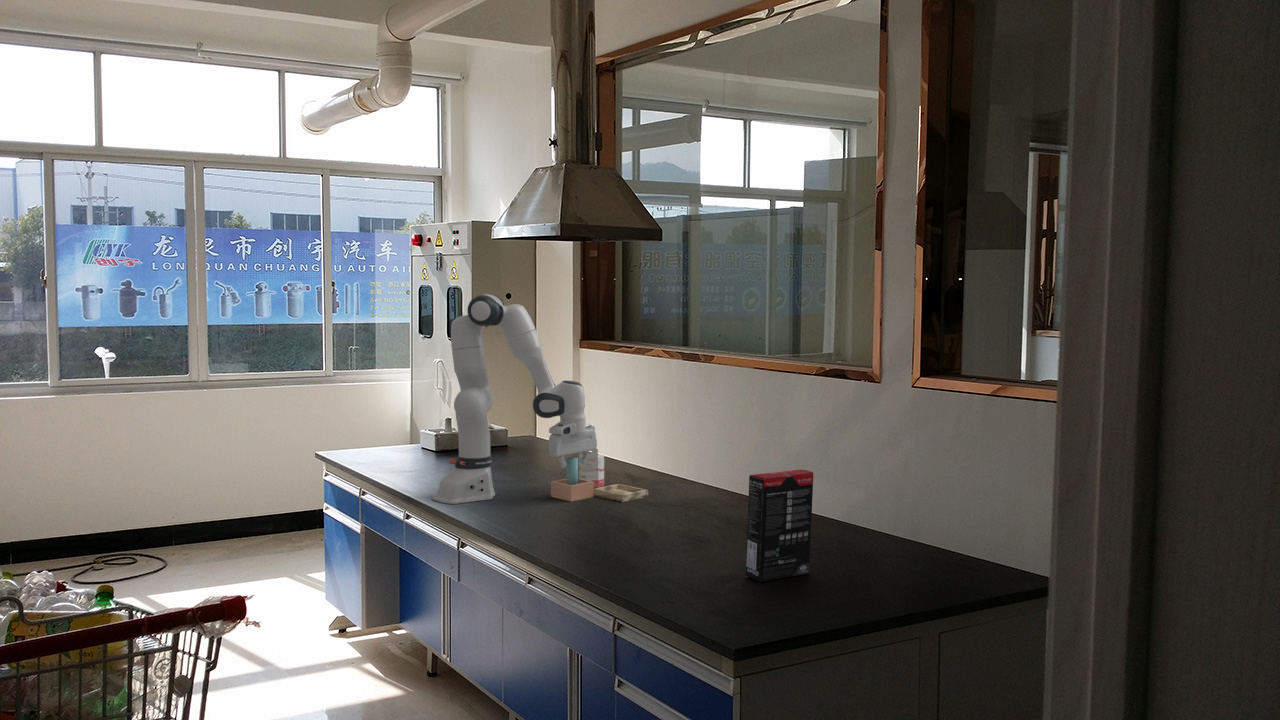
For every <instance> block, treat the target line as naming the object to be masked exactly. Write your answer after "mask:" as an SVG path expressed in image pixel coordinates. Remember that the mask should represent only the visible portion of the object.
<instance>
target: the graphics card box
mask: <svg viewBox="0 0 1280 720" xmlns="http://www.w3.org/2000/svg"><path fill="white" fill-rule="evenodd" d="M748 477H749V479H748V503H747V508H748V509H747V526H746V527H747V528H746V529H747V530H746V531H747V532H746V536H747V537H746V552H745V553H746V556H745V559H746V560H745V576H746V577H748V578H751V579H752V580H755V581H757V582H759V583H762V582H767V581H773V580H779V579H786V578H792V577H795V576H796V577H797V576H803V575H807V574H809V573H810V566H811V565H810V562H811V560H810V559H811V539H812V537H811V535H812V517H813V514H812V513H813V494H814V492H813V489H814V471H811V470H807V469H793V470H784V471H777V472H774V471H773V472H766V473H755V474H749V475H748Z"/></svg>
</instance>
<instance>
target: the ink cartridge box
mask: <svg viewBox="0 0 1280 720" xmlns="http://www.w3.org/2000/svg"><path fill="white" fill-rule="evenodd" d="M582 457H583V453H582V452H579V455H578V478H579V479H583V480H588V481H593V482H594V489H595V488H600V487H605V455H604V454H599V449H598V448H596V449H595V450H590V451H589V455H588V457H587V463H586V464H581V463H580V462H581V461H580V459H582Z"/></svg>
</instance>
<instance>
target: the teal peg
mask: <svg viewBox="0 0 1280 720" xmlns="http://www.w3.org/2000/svg"><path fill="white" fill-rule="evenodd" d="M566 462H567V467H566V479H567V484H568V485H575V484H578V478H579V456H578V457H576V456H567V457H566Z"/></svg>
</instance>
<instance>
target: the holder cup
mask: <svg viewBox="0 0 1280 720" xmlns="http://www.w3.org/2000/svg"><path fill="white" fill-rule="evenodd" d="M594 489H595V488H594V482H593V481H588V480H583V479H579V477H578V484H575V485H568V484H567V478H563V479H557V480H553V481H551V482H550V490H551V491H550V497H551V498H555V499H559V500H562V501H563V500H564V501H567V502H575V501H581V500H585V499H590V498H594V496H593V491H594Z"/></svg>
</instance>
